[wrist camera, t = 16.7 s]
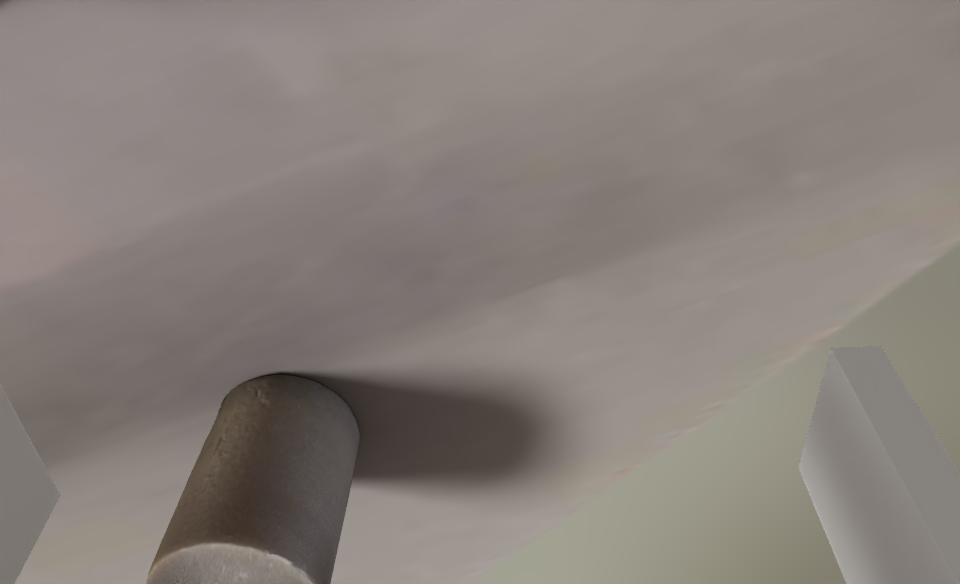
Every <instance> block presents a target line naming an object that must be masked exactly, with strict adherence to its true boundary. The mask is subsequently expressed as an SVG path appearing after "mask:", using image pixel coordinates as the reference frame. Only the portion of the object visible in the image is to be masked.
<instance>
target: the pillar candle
mask: <svg viewBox="0 0 960 584" xmlns="http://www.w3.org/2000/svg"><path fill="white" fill-rule="evenodd" d="M359 442H360V433H359V429H358V425H357V422H356V420H355V417H354V416H353V414H352V412H351V410H350V408H349V407H348V405H347V404H346V402H345V401H344V400H343V399H341V397H340V396H338V395H337V394H336V393H335V392H333V391H332V390H330V389H329V388H327V387H325V386H323V385H321V384H319V383H317V382H315V381H312V380H309V379H305V378H301V377H296V376H287V375H271V376H264V377H259V378H256V379H253V380H249V381H246V382H244V383H242V384H240V385H238V386H237V387H235V388H234V389H232V390H231V391H230V392H229V394H227V395H226V397H225V398H224V400H223V402H222V404H221V408H220V410H219V412H218V416H217V418H216V420H215V422H214V425H213V427H212V429H211V431H210V433H209V435H208V437H207V439H206V440H205V443H204V446H203V448H202V450H201V453H200V455H199V457H198V459H197V461H196V464H195V466H194V468H193V470H192V472H191V475H190V477H189V479H188V482H187V484H186V487H185V489H184V491H183V493H182V496H181V498H180V500H179V503H178V505H177V508H176V510H175V512H174V514H173V517H172V519H171V521H170V523H169V526H168V528H167V531H166V533H165V535H164V537H163V539H162V542H161V544H160V547H159V549H158V552H157V554H156V556H155V559H154V561H153V564H152V566H151V569H150V571H149V573H148V579H147V584H330V582H331V578H332V573H333V569H334V563H335V559H336V554H337V549H338V544H339V540H340V535H341V530H342V525H343V521H344V516H345V511H346V507H347V502H348V498H349V493H350V488H351V483H352V478H353V472H354V467H355V462H356V458H357V453H358V448H359Z"/></svg>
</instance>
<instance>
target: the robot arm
mask: <svg viewBox="0 0 960 584" xmlns="http://www.w3.org/2000/svg"><path fill="white" fill-rule="evenodd" d="M799 471H800V473H801V476H802V478H803V480H804V483H805V485H806V488H807V490H808V492H809V494H810V497H811V500H812V502H813V504H814V507H815V509H816V512H817V514H818V516H819V519H820V521H821V524H822V526H823V528H824V531H825V533H826V535H827V538H828V540H829V543H830V545H831V548H832V550H833V552H834V555H835V557H836V560H837V562H838V564H839V567H840V569H841V572H842V574H843V576H844V579H845V581H846V584H960V473H959V471H958V469H957V468H956V466H955V464H954V463H953V461H952V460H951V458H950V456H949V455H948V453H947V452H946V450H945V448H944V447H943V445H942V444H941V442H940V440H939V439H938V437H937V436H936V434H935V432H934V431H933V429H932V428H931V426H930V424H929V423H928V421H927V419H926V418H925V416H924V415H923V413H922V411H921V410H920V408H919V407H918V405H917V403H916V402H915V400H914V399H913V397H912V395H911V394H910V392H909V390H908V389H907V387H906V386H905V384H904V382H903V381H902V379H901V378H900V376H899V374H898V373H897V371H896V370H895V368H894V367H893V365H892V363H891V362H890V360H889V358H888V357H887V355H886V354H885V352H884V350H883V349H882V347H881V346H867V347H841V348H831V349H830V353H829V357H828V360H827V364H826V368H825V371H824V375H823V379H822V382H821V386H820V390H819V394H818V397H817V401H816V405H815V408H814V412H813V416H812V419H811V423H810V427H809V431H808V434H807V438H806V442H805V445H804V449H803V453H802V456H801V460H800V464H799ZM59 497H60V493H59V491H58V490H57V488H56V486H55V484H54V482H53V480H52V479H51V477H50V475H49V473H48V471H47V469H46V468H45V466H44V464H43V462H42V460H41V458H40V456H39V455H38V453H37V451H36V449H35V447H34V445H33V444H32V442H31V440H30V438H29V436H28V434H27V433H26V431H25V429H24V427H23V425H22V423H21V422H20V420H19V418H18V416H17V414H16V412H15V411H14V409H13V407H12V405H11V403H10V401H9V399H8V398H7V396H6V394H5V392H4V390H3V388H2V387H1V385H0V584H14V583H15V581H16V579H17V577H18V576H19V574H20V572H21V570H22V568H23V566H24V564H25V562H26V560H27V558H28V556H29V554H30V552H31V551H32V549H33V547H34V545H35V543H36V541H37V539H38V537H39V535H40V533H41V531H42V529H43V528H44V526H45V524H46V522H47V520H48V518H49V516H50V514H51V512H52V510H53V508H54V506H55V505H56V503H57V501H58V499H59Z"/></svg>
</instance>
